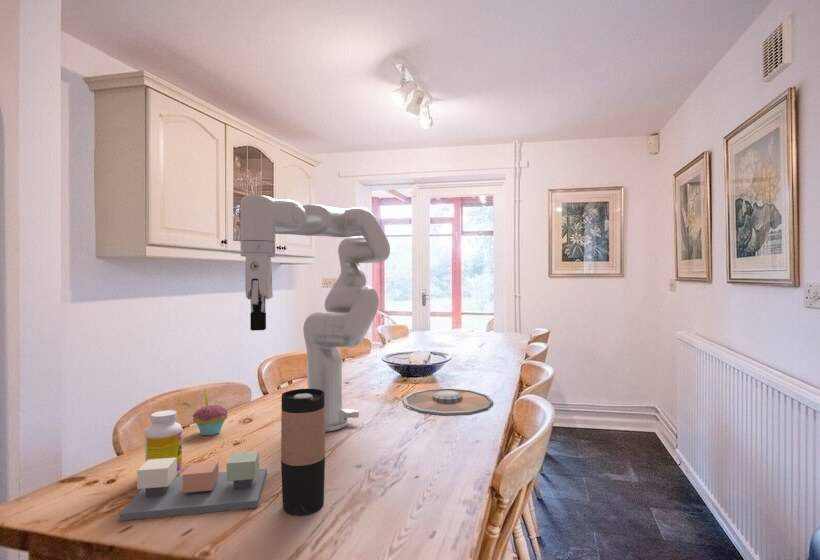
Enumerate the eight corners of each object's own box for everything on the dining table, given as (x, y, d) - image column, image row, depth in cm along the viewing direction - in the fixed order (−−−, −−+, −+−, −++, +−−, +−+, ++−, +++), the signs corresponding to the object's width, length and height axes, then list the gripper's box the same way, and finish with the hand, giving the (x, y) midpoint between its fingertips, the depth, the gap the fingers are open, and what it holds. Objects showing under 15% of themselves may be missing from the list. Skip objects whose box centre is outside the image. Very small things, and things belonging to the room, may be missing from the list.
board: (267, 474, 92) (267, 457, 92) (257, 507, 78) (257, 488, 79) (151, 484, 88) (151, 466, 88) (119, 521, 74) (119, 500, 74)
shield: (409, 381, 165) (491, 384, 160) (409, 390, 165) (491, 393, 160) (394, 404, 135) (494, 408, 130) (394, 415, 135) (494, 419, 130)
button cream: (176, 474, 85) (176, 457, 85) (167, 486, 80) (167, 468, 80) (148, 477, 84) (148, 459, 84) (137, 489, 79) (137, 470, 79)
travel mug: (285, 496, 83) (285, 388, 83) (327, 494, 83) (327, 387, 83) (277, 518, 75) (276, 399, 75) (322, 515, 76) (322, 398, 76)
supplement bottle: (183, 477, 91) (183, 414, 91) (146, 485, 87) (146, 420, 88) (180, 466, 97) (180, 406, 97) (144, 473, 93) (144, 411, 93)
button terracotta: (218, 478, 86) (218, 461, 86) (212, 490, 81) (212, 472, 81) (190, 480, 85) (190, 463, 85) (182, 492, 80) (182, 474, 80)
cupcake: (214, 439, 113) (214, 392, 113) (185, 437, 115) (185, 390, 115) (234, 428, 122) (234, 384, 122) (206, 426, 123) (206, 383, 123)
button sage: (258, 467, 88) (258, 451, 88) (255, 478, 83) (255, 461, 83) (232, 470, 87) (232, 453, 87) (226, 481, 82) (226, 463, 82)
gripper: (271, 247, 95) (271, 333, 95) (278, 252, 110) (278, 326, 110) (234, 247, 94) (234, 334, 94) (246, 252, 108) (246, 327, 108)
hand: (258, 329), depth 102 cm, fingers closed
